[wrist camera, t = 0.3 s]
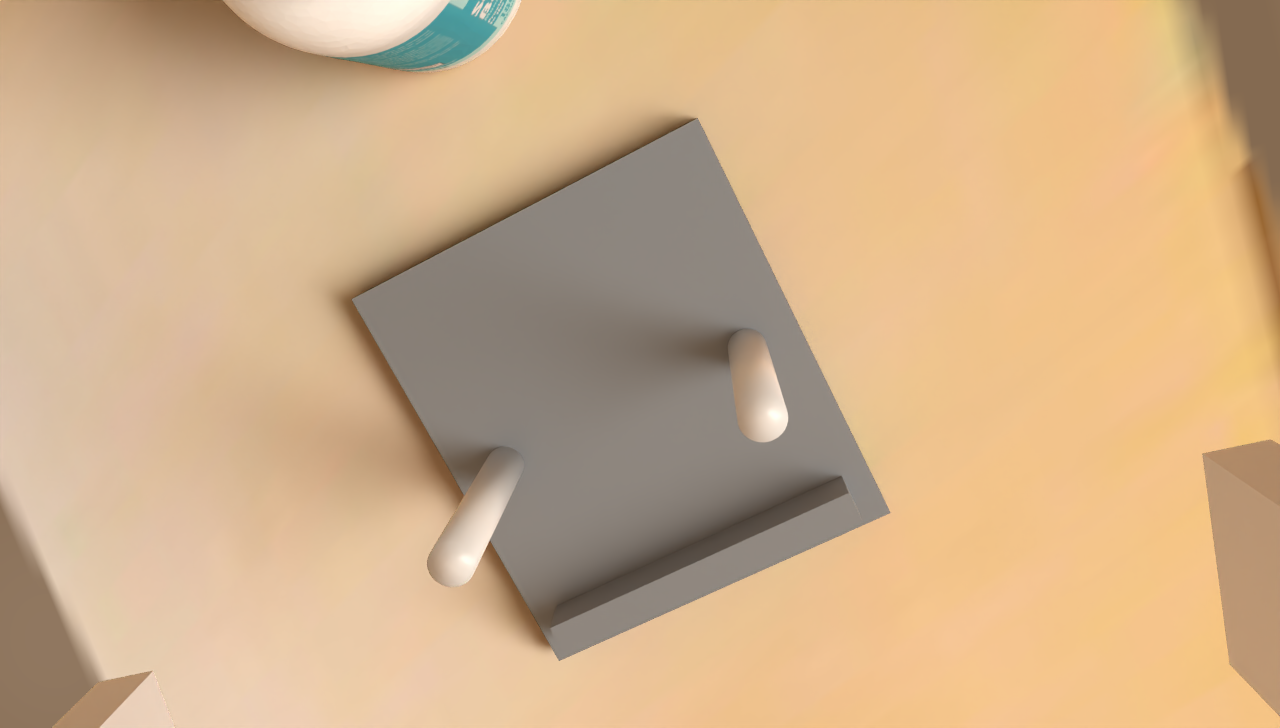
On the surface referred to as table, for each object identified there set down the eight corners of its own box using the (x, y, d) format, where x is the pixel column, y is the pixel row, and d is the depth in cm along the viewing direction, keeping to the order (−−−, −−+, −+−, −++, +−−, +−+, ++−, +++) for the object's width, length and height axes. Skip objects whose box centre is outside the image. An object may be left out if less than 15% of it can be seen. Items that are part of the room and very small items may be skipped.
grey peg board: (359, 294, 39) (249, 354, 29) (697, 118, 37) (698, 119, 27) (562, 648, 42) (522, 808, 32) (885, 503, 40) (946, 628, 30)
